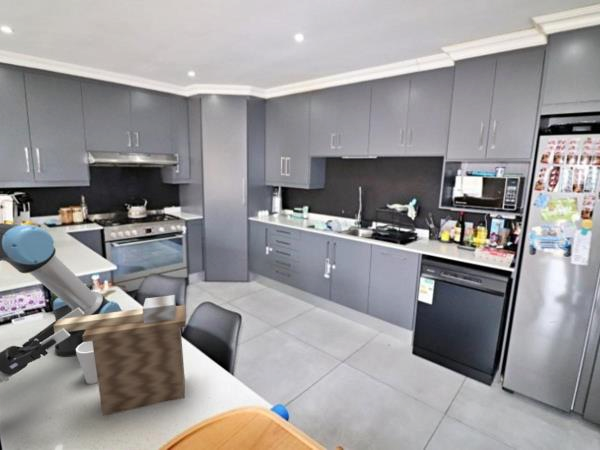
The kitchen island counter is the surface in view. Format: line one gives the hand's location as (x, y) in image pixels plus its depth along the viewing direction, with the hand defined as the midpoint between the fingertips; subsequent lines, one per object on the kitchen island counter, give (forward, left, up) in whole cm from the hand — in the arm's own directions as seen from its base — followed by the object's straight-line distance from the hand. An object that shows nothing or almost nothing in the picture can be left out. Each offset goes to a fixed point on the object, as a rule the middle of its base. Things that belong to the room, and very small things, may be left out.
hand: (74, 320), depth 98 cm
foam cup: (-16, -4, -31) cm, 35 cm away
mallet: (-2, +11, -2) cm, 12 cm away
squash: (-78, -43, -31) cm, 94 cm away
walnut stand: (-3, +17, -30) cm, 35 cm away
